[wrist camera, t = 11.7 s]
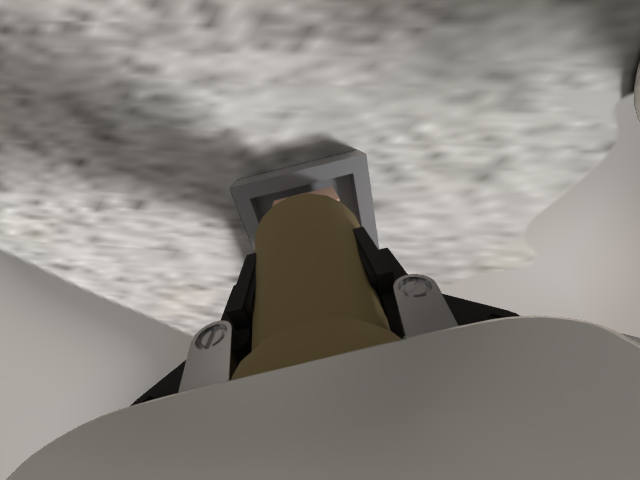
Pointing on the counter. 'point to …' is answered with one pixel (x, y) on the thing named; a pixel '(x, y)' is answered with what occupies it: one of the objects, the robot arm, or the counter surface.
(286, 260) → the olive rounded piece
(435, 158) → the counter surface
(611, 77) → the counter surface
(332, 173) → the base
